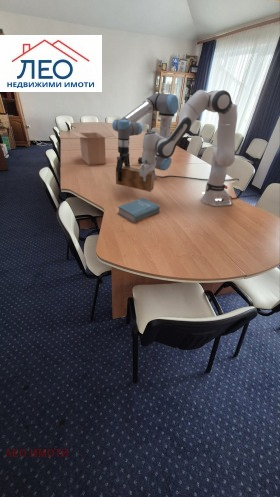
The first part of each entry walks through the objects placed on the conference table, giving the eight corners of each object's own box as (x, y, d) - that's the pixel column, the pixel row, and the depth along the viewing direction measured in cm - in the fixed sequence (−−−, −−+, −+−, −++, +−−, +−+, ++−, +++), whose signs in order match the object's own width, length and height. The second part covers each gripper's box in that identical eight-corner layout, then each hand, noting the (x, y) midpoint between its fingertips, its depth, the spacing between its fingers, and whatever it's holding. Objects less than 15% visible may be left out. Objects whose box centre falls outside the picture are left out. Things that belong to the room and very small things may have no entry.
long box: (115, 183, 164) (115, 167, 156) (119, 181, 168) (119, 165, 161) (150, 191, 155) (151, 174, 148) (153, 189, 160) (155, 172, 153)
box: (116, 165, 229) (116, 136, 213) (83, 168, 214) (80, 137, 198) (102, 154, 259) (101, 128, 243) (71, 156, 244) (68, 129, 228)
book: (142, 204, 158) (143, 197, 155) (159, 212, 149) (160, 205, 146) (118, 213, 145) (118, 206, 142) (134, 223, 136) (135, 216, 133)
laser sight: (157, 166, 235) (158, 156, 229) (137, 164, 238) (137, 154, 232) (158, 164, 242) (159, 154, 236) (138, 161, 245) (139, 152, 239)
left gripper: (120, 150, 140) (120, 184, 153) (135, 144, 156) (134, 175, 170) (110, 148, 142) (111, 182, 155) (126, 142, 158) (125, 174, 172)
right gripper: (146, 163, 138) (145, 184, 146) (158, 156, 153) (156, 176, 161) (137, 161, 140) (136, 183, 148) (149, 155, 155) (148, 174, 163)
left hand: (123, 179), depth 162 cm, fingers open, 9 cm apart
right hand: (146, 179), depth 155 cm, fingers closed on long box, 6 cm apart
